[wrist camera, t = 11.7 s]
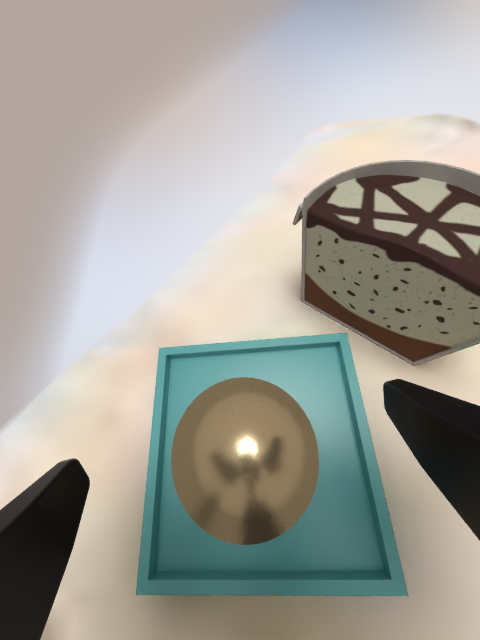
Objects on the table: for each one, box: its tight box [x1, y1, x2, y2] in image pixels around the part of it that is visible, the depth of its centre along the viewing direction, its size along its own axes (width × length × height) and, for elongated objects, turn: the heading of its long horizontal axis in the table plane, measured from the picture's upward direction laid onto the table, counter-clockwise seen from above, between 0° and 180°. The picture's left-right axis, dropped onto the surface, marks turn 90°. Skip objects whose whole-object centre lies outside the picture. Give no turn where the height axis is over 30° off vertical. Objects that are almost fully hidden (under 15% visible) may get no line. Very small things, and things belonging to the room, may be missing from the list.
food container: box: [293, 160, 480, 366], centre depth 17 cm, size 12×6×10 cm, turn 52°
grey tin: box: [171, 377, 319, 545], centre depth 13 cm, size 5×5×9 cm
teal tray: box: [136, 333, 408, 596], centre depth 17 cm, size 14×14×2 cm
